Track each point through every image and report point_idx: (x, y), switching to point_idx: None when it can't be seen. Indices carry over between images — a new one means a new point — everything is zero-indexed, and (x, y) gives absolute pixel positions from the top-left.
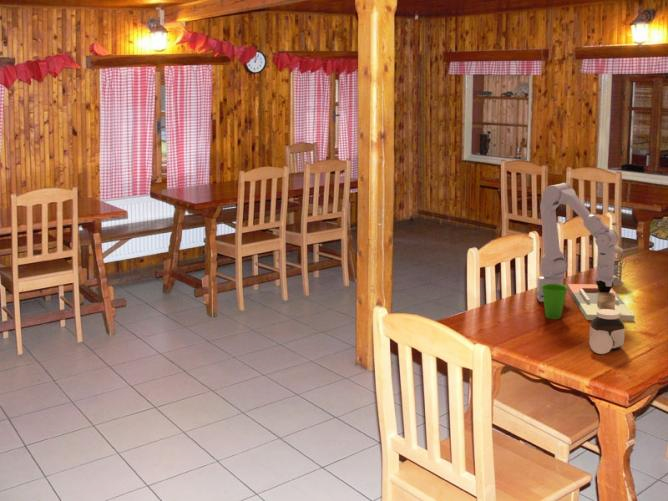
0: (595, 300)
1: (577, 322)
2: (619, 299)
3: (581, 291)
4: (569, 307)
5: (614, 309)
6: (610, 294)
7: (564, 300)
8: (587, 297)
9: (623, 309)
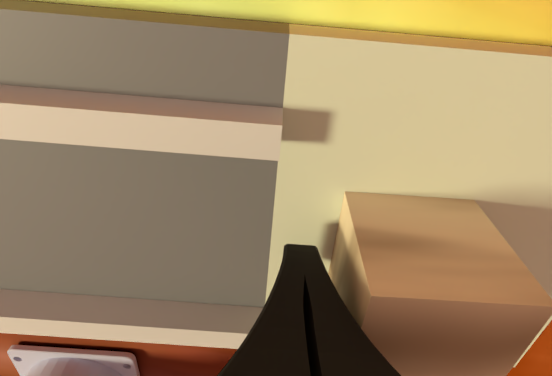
0: (169, 258)
1: (516, 371)
2: (79, 39)
3: (18, 332)
4: (235, 349)
5: (475, 204)
6: (452, 329)
7: (121, 358)
8: (198, 335)
9: (485, 119)
